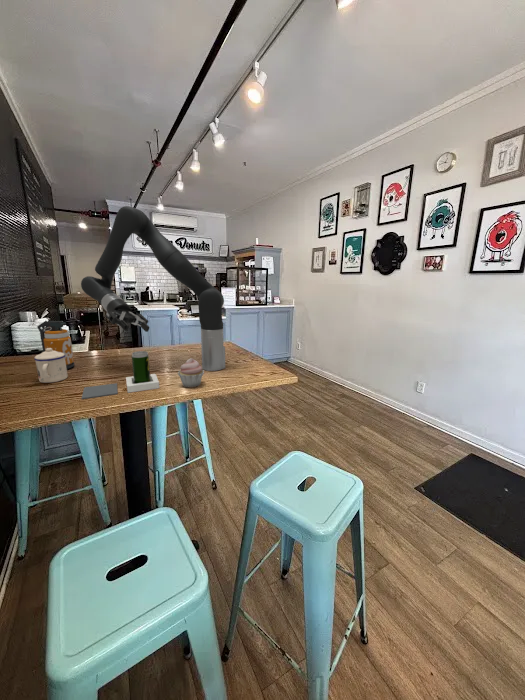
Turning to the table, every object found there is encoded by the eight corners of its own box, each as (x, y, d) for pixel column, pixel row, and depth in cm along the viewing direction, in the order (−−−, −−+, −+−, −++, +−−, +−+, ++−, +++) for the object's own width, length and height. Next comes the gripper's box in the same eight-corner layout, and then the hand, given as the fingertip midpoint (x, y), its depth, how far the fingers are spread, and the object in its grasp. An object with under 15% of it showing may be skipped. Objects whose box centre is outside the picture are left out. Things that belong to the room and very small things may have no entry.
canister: (65, 371, 113) (57, 322, 108) (37, 371, 113) (28, 321, 108) (79, 365, 122) (73, 319, 117) (54, 364, 122) (46, 318, 117)
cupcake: (191, 391, 96) (190, 363, 94) (172, 385, 101) (171, 358, 99) (210, 383, 104) (209, 357, 101) (192, 378, 109) (191, 353, 106)
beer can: (135, 389, 97) (132, 355, 94) (133, 384, 101) (130, 352, 98) (152, 386, 100) (149, 353, 97) (148, 381, 104) (146, 350, 101)
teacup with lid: (43, 376, 108) (38, 346, 105) (71, 374, 111) (67, 345, 108) (30, 387, 97) (24, 354, 94) (62, 384, 100) (56, 352, 97)
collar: (155, 379, 107) (155, 373, 106) (159, 388, 98) (159, 382, 98) (126, 383, 102) (125, 377, 102) (127, 392, 94) (127, 386, 93)
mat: (117, 384, 101) (117, 383, 101) (117, 394, 92) (117, 393, 92) (84, 388, 97) (84, 387, 96) (81, 399, 88) (81, 398, 88)
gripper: (100, 295, 103) (123, 319, 97) (135, 300, 116) (157, 322, 109) (94, 313, 106) (116, 337, 99) (129, 316, 118) (150, 338, 111)
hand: (138, 329), depth 104 cm, fingers open, 8 cm apart
